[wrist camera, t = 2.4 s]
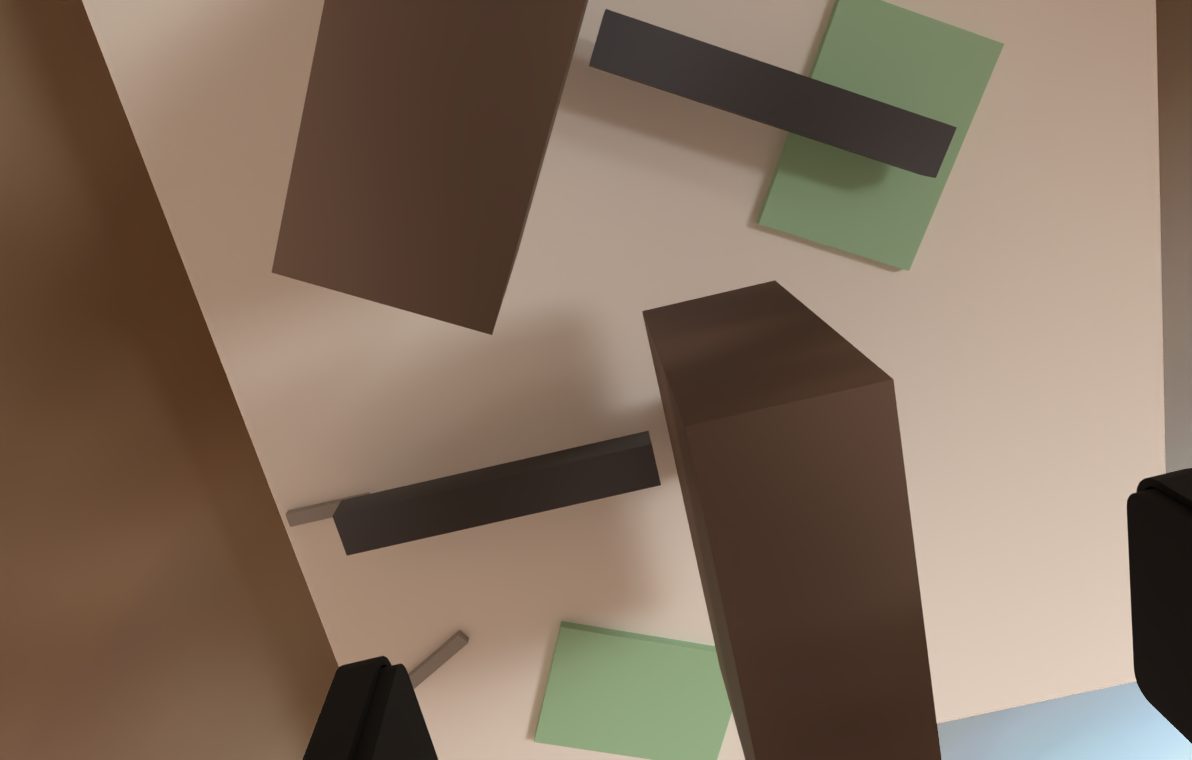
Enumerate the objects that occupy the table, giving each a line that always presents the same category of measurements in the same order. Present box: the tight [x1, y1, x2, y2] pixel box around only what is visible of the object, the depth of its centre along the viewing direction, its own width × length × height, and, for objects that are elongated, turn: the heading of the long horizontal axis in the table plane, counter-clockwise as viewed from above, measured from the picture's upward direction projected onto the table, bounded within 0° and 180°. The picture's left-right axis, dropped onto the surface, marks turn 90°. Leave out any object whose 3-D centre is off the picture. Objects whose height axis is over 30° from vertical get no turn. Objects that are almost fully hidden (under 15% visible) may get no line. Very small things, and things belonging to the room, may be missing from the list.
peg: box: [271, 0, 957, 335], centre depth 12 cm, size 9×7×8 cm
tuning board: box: [82, 0, 1166, 760], centre depth 19 cm, size 19×22×3 cm
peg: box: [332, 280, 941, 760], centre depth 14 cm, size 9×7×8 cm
